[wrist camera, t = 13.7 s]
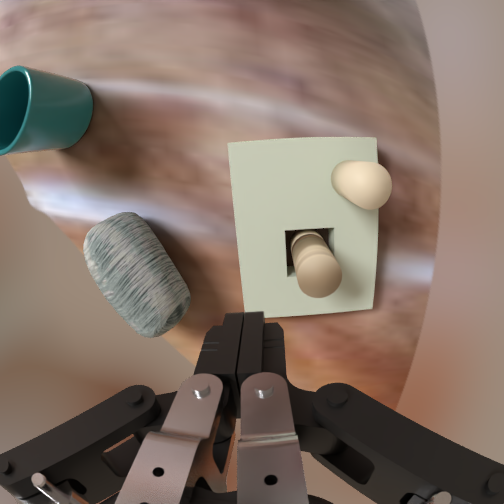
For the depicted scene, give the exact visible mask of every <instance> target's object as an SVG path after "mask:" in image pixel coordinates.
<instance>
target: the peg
mask: <svg viewBox="0 0 504 504" xmlns="http://www.w3.org/2000/svg"><path fill="white" fill-rule="evenodd" d="M290 249H291V254H292V258H293V263H294V267H295V272H296V277H297V281H298V285H299V287H300V289H301V290H302V292H303V293H304V294H306V295H308V296H310V297H313V298H323V297H327V296H329V295H331V294H332V293H334V292H335V291H336V290H337V289H338V287H339V285H340V283H341V280H342V270H341V268H340V266H339V264H338V262H337V261H336V259H335V257H334V256H333V254H332V253H331V251H330V249H329V248H328V246H327V245H326V243H325V241H324V240H323V238H322V237H321V235H320V234H319V232H317V231H316V230H315V229H300V230H297V231H296V232H295V233H294V234H293V235H292V237H291V239H290Z"/></svg>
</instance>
